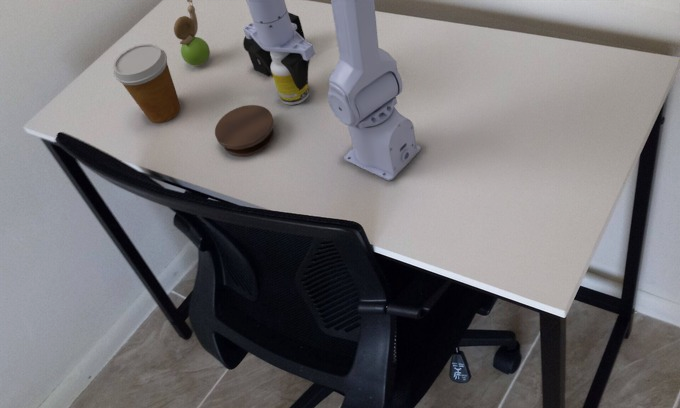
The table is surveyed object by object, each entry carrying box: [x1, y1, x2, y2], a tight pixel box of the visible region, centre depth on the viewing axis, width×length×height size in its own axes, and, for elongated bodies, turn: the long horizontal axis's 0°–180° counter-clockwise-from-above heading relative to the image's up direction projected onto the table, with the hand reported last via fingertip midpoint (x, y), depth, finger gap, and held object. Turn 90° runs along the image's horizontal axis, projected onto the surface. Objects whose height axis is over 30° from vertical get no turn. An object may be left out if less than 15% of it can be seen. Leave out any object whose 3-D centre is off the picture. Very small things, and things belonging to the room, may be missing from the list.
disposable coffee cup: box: [112, 43, 182, 124], centre depth 120 cm, size 10×10×12 cm
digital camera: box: [242, 11, 306, 78], centre depth 126 cm, size 10×5×7 cm, turn 136°
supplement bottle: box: [270, 51, 310, 106], centre depth 116 cm, size 5×5×10 cm
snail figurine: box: [173, 0, 211, 67], centre depth 128 cm, size 5×6×12 cm
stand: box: [214, 104, 275, 158], centre depth 113 cm, size 10×10×3 cm
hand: (290, 80), depth 117 cm, fingers closed on supplement bottle, 5 cm apart
